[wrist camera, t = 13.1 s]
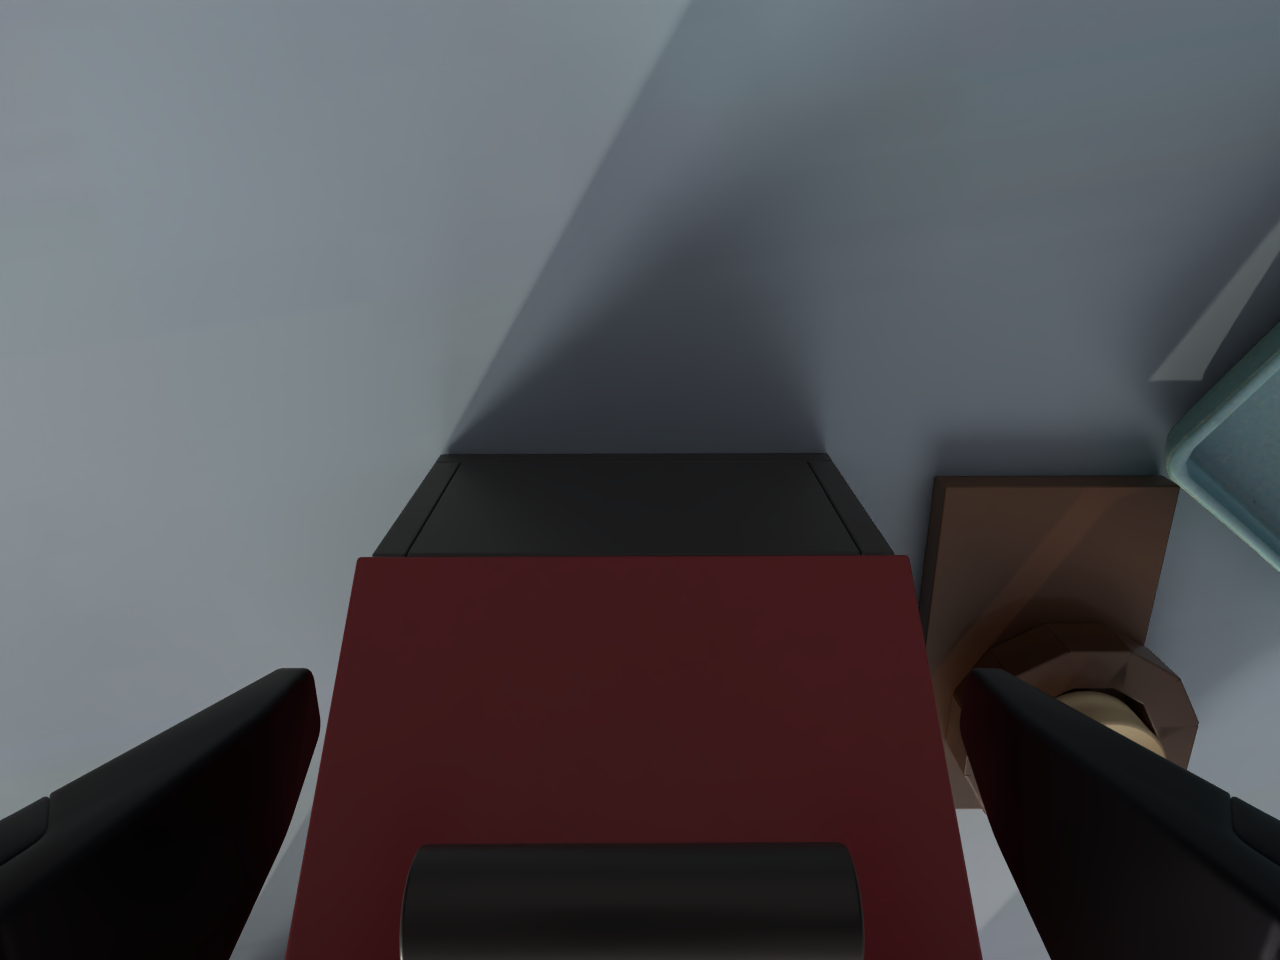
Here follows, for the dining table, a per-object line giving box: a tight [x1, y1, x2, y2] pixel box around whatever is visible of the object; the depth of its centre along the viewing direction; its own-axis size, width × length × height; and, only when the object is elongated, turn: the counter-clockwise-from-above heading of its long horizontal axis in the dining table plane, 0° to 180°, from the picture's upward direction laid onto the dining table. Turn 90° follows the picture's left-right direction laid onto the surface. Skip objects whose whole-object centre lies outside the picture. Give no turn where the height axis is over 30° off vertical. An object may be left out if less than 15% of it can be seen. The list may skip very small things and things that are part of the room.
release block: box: [919, 476, 1199, 814], centre depth 25 cm, size 11×8×2 cm
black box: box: [372, 453, 894, 557], centre depth 23 cm, size 12×11×7 cm
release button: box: [1055, 691, 1166, 759], centre depth 24 cm, size 4×4×2 cm
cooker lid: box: [285, 555, 983, 960], centre depth 12 cm, size 13×11×5 cm
